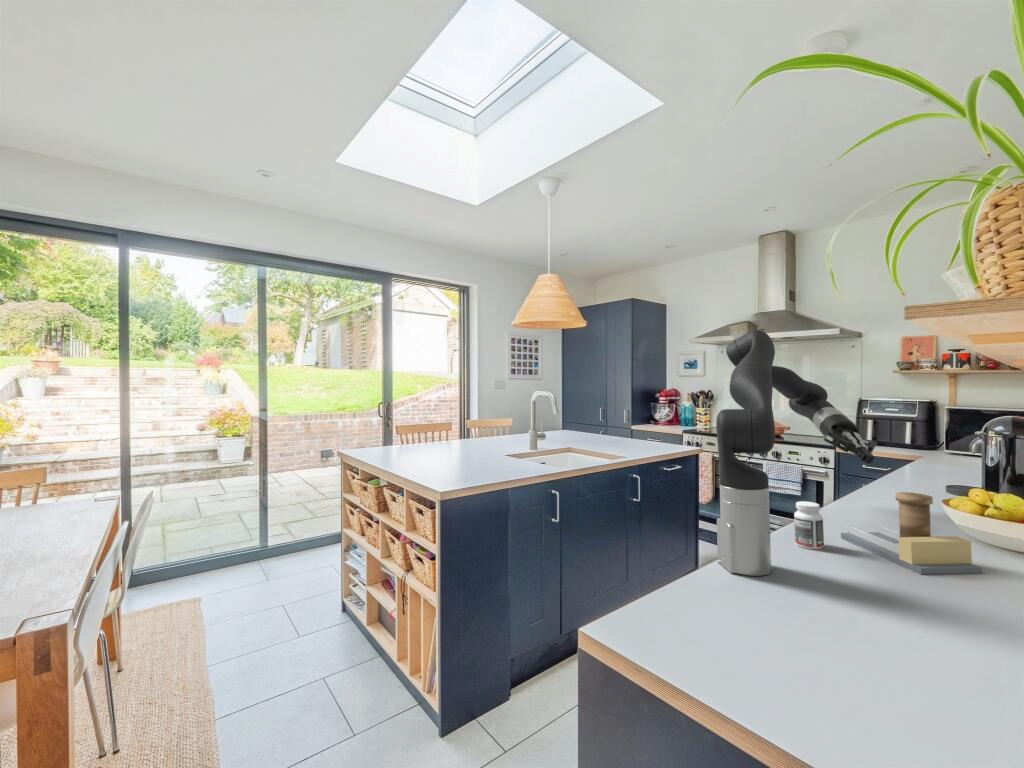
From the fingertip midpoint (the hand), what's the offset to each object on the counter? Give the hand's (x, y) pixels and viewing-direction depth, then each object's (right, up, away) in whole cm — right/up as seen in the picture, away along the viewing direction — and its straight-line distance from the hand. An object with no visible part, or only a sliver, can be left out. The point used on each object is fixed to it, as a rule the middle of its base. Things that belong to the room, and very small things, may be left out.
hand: (869, 460), depth 110 cm
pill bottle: (-17, -20, -3) cm, 26 cm away
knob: (0, -18, -13) cm, 22 cm away
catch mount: (0, -19, -9) cm, 21 cm away
